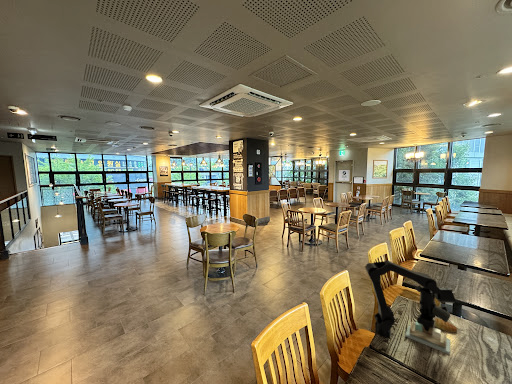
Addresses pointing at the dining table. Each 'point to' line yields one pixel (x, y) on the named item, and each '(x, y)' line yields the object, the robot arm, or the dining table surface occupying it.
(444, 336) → the tray
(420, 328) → the block
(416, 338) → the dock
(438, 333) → the block
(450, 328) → the pastry
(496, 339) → the dining table surface
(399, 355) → the dining table surface
